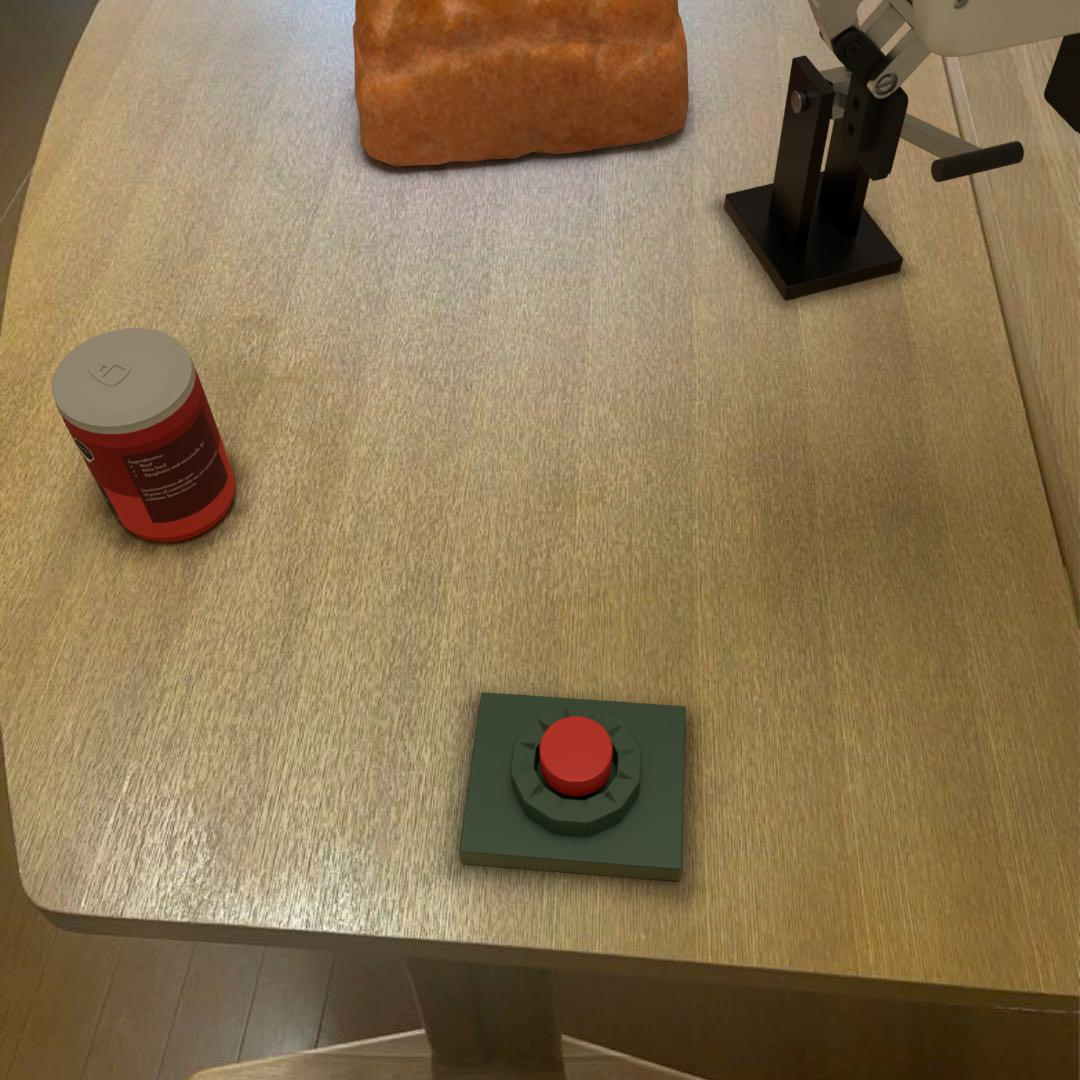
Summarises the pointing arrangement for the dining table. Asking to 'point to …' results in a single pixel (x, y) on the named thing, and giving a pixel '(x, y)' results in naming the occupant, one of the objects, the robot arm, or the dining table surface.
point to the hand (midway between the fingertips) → (967, 138)
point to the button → (576, 756)
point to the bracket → (812, 201)
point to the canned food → (146, 432)
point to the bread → (515, 77)
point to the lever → (935, 139)
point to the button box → (576, 821)
